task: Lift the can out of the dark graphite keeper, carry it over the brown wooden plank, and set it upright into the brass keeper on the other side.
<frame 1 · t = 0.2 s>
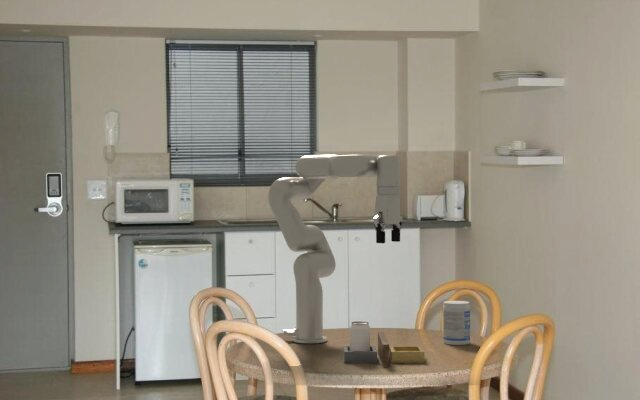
hand: (388, 242, 328), 37 cm above the table, tool pointing down, fingers open, 9 cm apart
brown wooden plank: (383, 359, 313), on the table
brass keeper: (406, 359, 313), on the table
supplement tub: (456, 344, 343), on the table
can: (360, 360, 313), resting in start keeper
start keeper: (360, 359, 313), on the table
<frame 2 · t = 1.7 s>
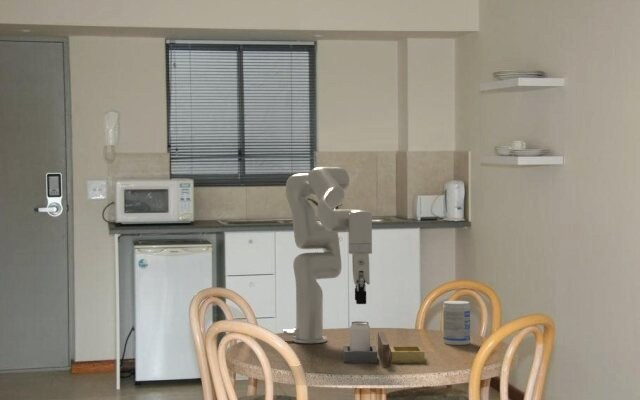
hand: (360, 302, 312), 19 cm above the table, tool pointing down, fingers open, 9 cm apart
nothing on the table moved.
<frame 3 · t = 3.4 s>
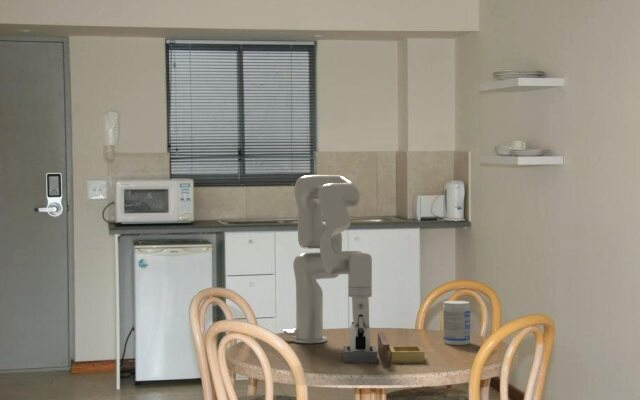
hand: (360, 346, 313), 4 cm above the table, tool pointing down, fingers closed on can, 6 cm apart
can: (360, 360, 313), resting in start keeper, touching gripper
everything else where it was.
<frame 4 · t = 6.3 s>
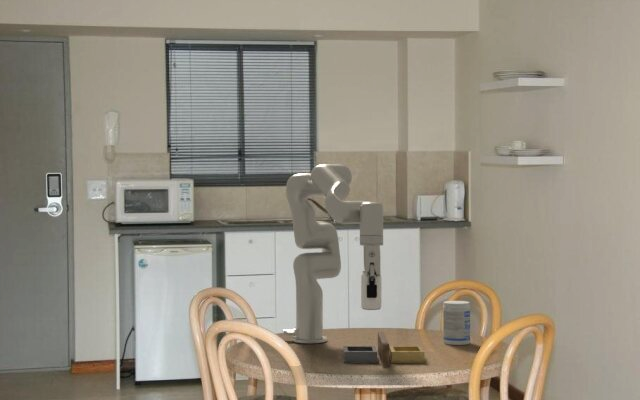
hand: (371, 295, 313), 21 cm above the table, tool pointing down, fingers closed on can, 6 cm apart
can: (371, 309, 313), point 16 cm above the table, touching gripper
everything else where it was.
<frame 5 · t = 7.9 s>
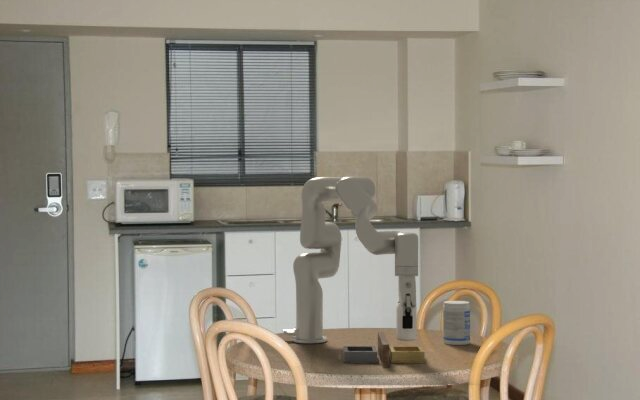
hand: (406, 326, 313), 11 cm above the table, tool pointing down, fingers closed on can, 6 cm apart
can: (406, 339, 313), point 6 cm above the table, touching gripper
everything else where it was.
when the fingers open (6 cm above the table, at t = 9.4 s): can drops 2 cm, resting in brass keeper.
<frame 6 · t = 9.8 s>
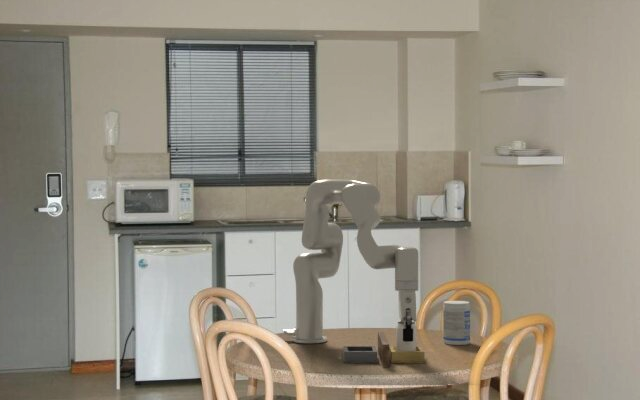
hand: (406, 338, 313), 7 cm above the table, tool pointing down, fingers open, 9 cm apart
can: (406, 360, 313), resting in brass keeper
everything else where it was.
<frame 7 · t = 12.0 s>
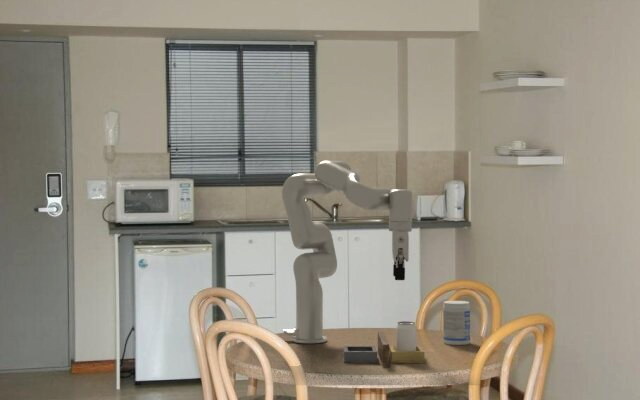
hand: (398, 278, 322), 25 cm above the table, tool pointing down, fingers open, 9 cm apart
nothing on the table moved.
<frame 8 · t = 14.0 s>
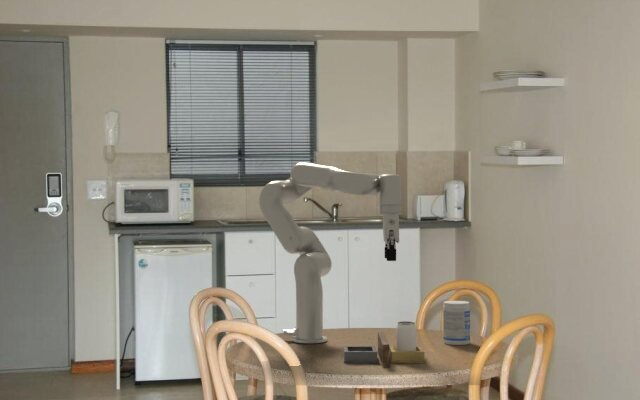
hand: (390, 259, 335), 30 cm above the table, tool pointing down, fingers open, 9 cm apart
nothing on the table moved.
at the end: can 0.1 cm off-centre on the brass keeper, point 0.0 cm above the brass keeper's base; can tilted 0°; the gripper is holding nothing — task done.
